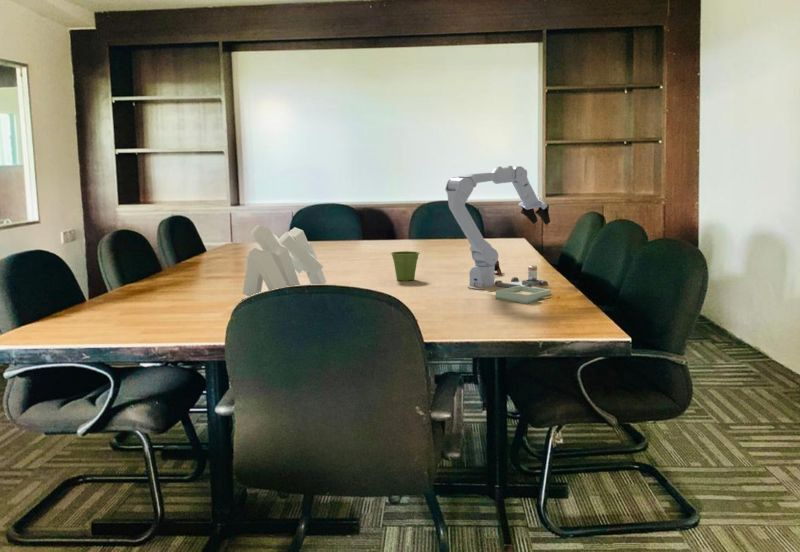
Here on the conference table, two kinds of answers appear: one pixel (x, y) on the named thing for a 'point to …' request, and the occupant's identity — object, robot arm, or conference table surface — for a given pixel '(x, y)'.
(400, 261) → the plant pot
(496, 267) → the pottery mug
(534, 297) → the tray
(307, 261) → the pile of blocks
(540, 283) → the trolley deck
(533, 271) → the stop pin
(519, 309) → the conference table surface
